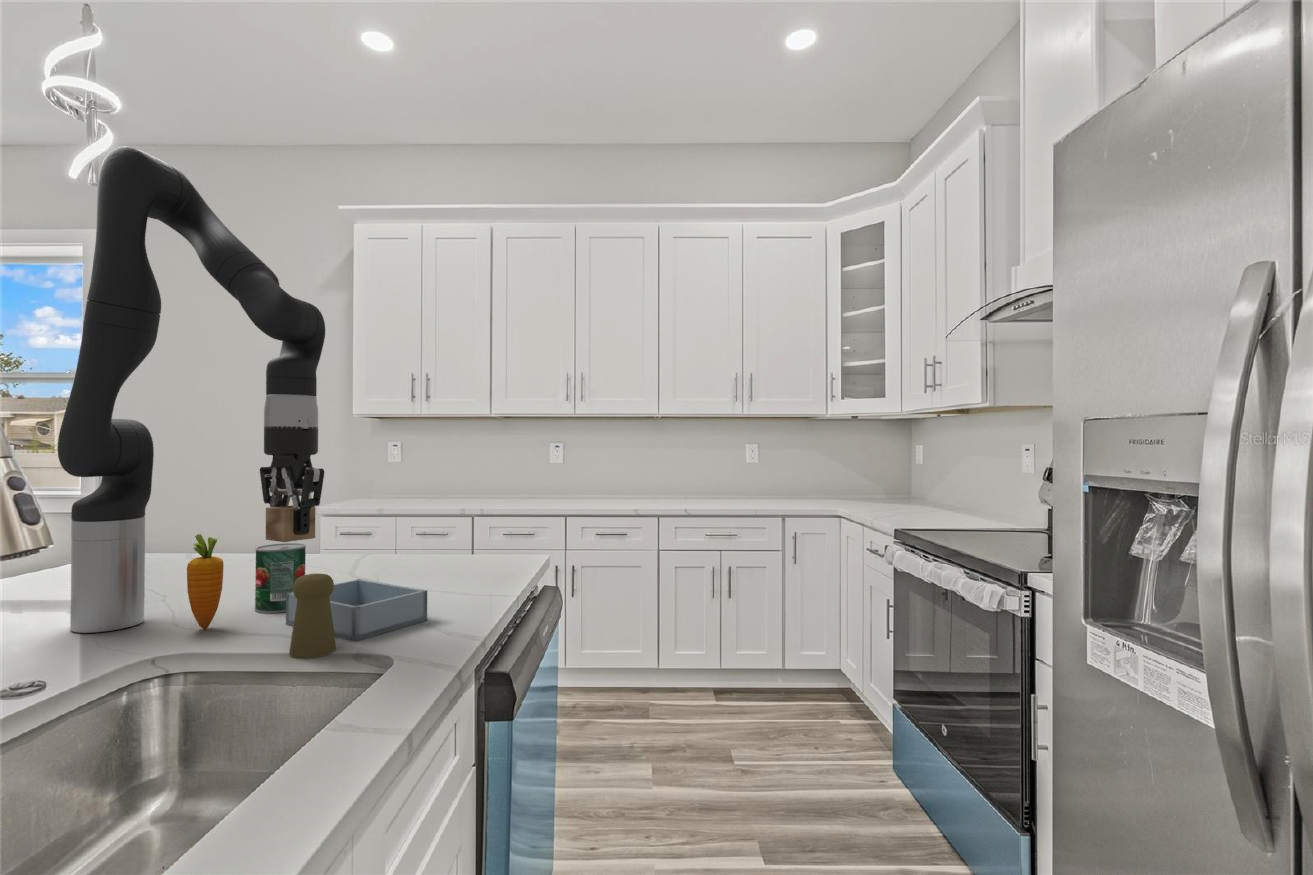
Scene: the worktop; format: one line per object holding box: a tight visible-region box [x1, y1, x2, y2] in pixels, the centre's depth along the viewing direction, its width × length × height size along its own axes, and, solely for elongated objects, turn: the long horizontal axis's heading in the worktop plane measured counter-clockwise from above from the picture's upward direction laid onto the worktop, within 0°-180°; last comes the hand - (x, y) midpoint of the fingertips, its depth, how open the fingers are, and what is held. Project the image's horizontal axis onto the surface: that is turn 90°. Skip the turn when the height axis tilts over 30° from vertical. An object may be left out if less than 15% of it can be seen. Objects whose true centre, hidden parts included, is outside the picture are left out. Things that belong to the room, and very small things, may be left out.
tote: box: [285, 578, 428, 642], centre depth 111 cm, size 18×14×5 cm
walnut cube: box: [265, 504, 316, 543], centre depth 106 cm, size 5×5×5 cm
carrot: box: [186, 533, 225, 630], centre depth 107 cm, size 5×5×15 cm
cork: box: [288, 573, 337, 660], centre depth 96 cm, size 6×6×11 cm
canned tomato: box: [254, 542, 307, 614], centre depth 120 cm, size 8×8×11 cm
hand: (291, 532), depth 106 cm, fingers closed on walnut cube, 5 cm apart
